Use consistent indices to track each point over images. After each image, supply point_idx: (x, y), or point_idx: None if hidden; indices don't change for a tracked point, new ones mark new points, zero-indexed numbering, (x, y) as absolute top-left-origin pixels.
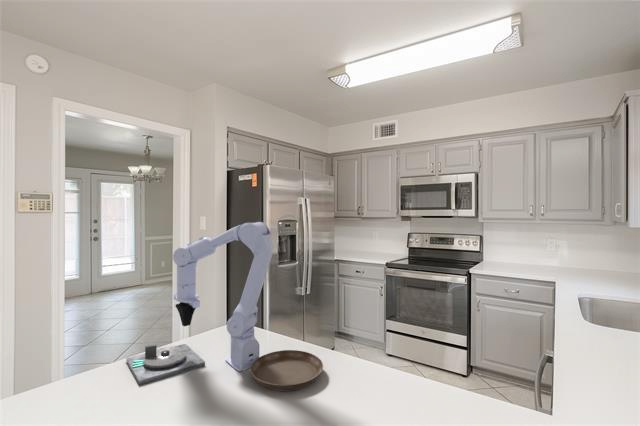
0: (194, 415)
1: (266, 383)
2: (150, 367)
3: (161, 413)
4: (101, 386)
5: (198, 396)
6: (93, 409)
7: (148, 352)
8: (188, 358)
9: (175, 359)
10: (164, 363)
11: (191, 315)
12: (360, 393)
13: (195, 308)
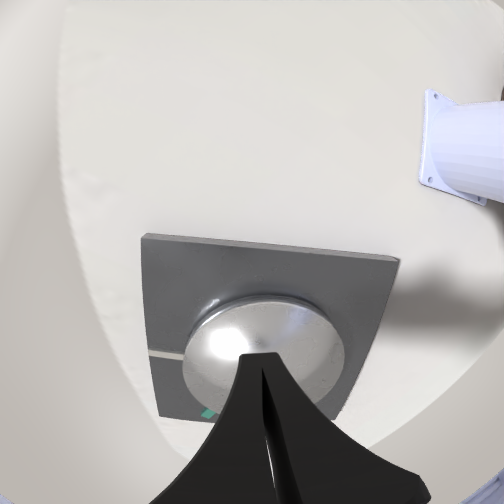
0: (484, 345)
1: None
2: None
3: (444, 383)
4: (268, 449)
5: (468, 327)
6: None
7: None
8: (324, 297)
9: (341, 361)
10: (330, 386)
11: (312, 417)
12: None
13: (386, 462)
